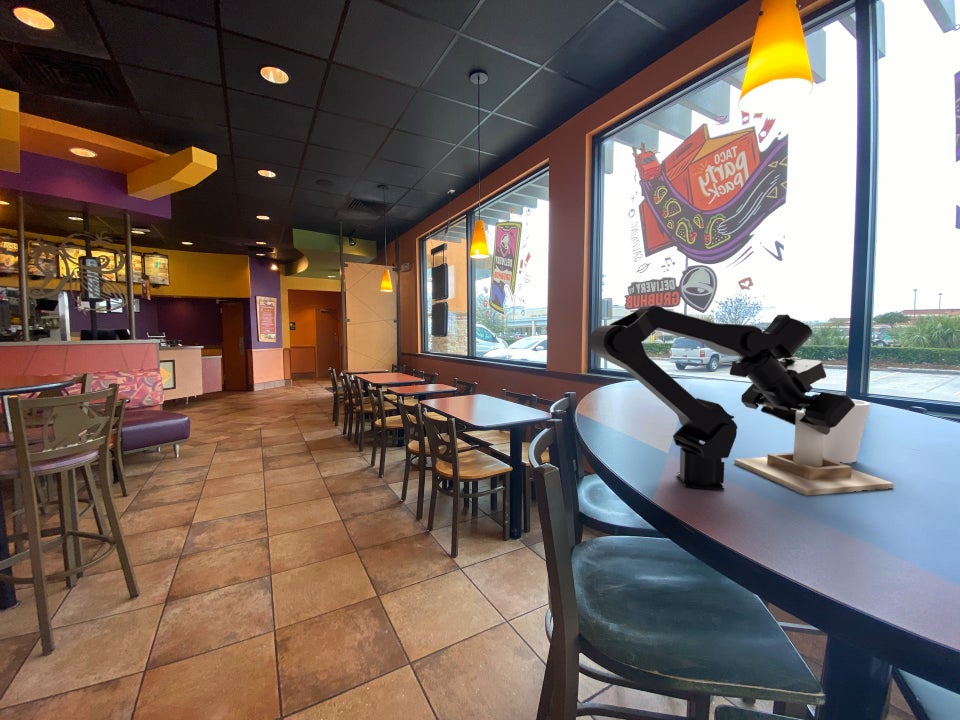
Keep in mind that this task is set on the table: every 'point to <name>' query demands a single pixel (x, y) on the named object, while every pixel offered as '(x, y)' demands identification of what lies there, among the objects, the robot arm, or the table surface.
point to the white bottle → (807, 444)
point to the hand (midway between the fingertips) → (815, 429)
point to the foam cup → (847, 434)
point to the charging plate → (812, 475)
